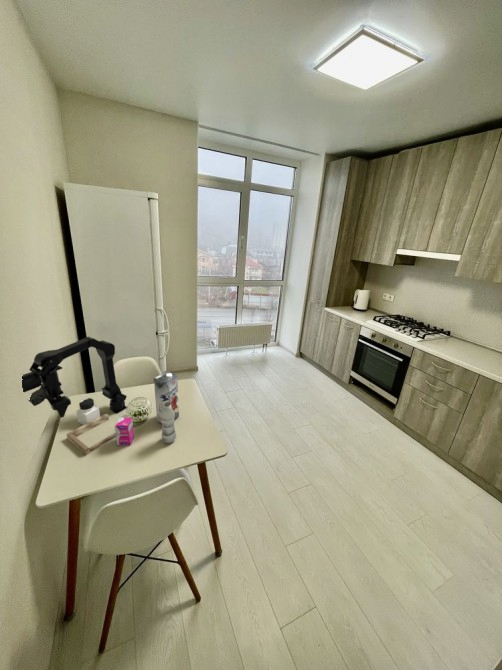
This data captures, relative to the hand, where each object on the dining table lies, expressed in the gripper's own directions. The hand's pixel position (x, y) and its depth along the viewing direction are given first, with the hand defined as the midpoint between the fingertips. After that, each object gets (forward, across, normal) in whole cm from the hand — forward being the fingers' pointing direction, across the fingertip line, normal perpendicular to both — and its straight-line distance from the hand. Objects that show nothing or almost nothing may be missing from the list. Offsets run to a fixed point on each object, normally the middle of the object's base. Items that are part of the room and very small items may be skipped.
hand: (58, 412), depth 115 cm
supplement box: (+15, +22, +17) cm, 32 cm away
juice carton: (+15, +23, +39) cm, 48 cm away
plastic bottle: (+15, +36, +30) cm, 49 cm away
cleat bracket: (+14, +8, +11) cm, 20 cm away
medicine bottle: (+15, -5, +13) cm, 20 cm away
